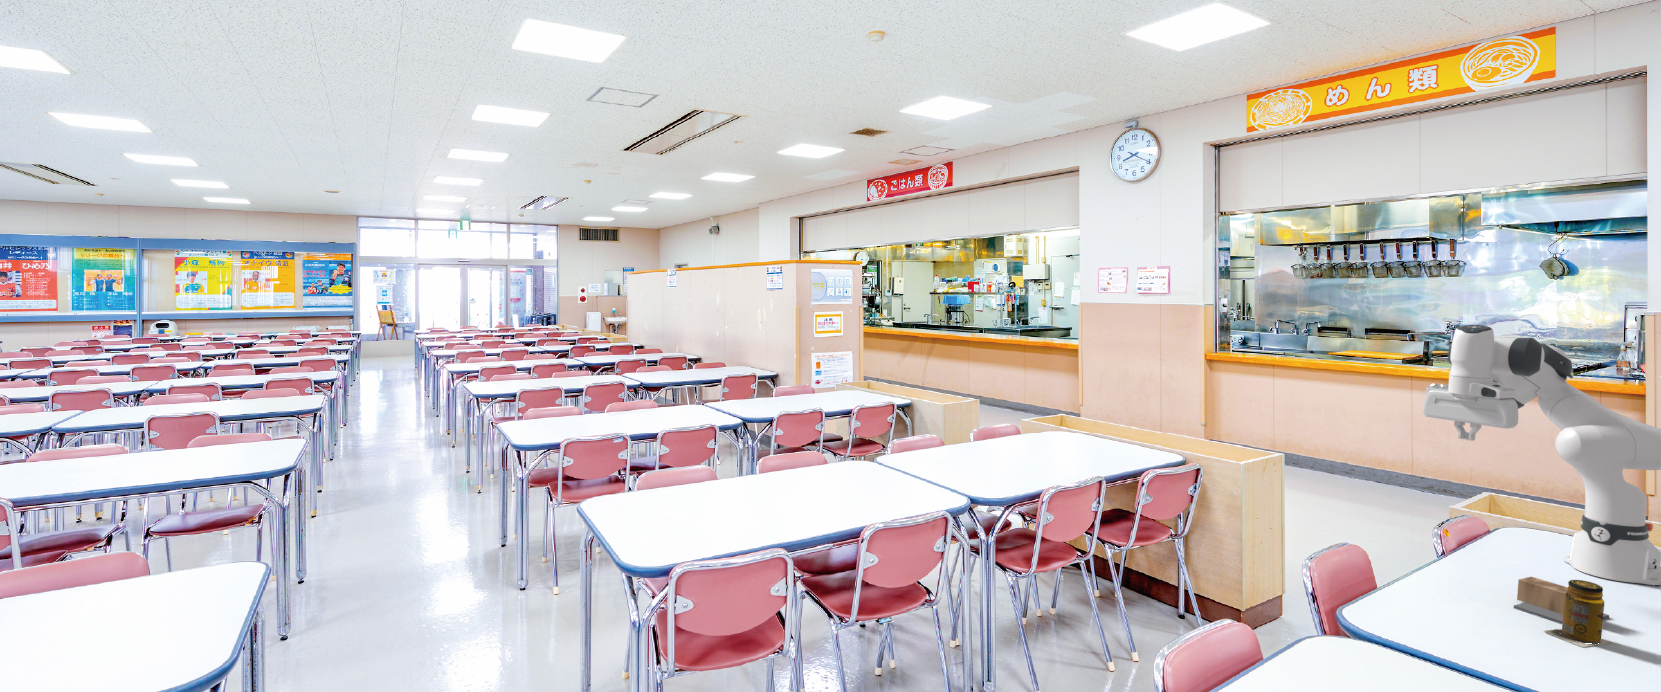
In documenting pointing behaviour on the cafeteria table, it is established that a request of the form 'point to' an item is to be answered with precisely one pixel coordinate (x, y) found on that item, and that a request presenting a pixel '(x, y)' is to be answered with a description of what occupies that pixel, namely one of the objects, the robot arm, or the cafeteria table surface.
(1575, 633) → the condiment
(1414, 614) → the cafeteria table surface
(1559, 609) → the block
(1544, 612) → the mat
